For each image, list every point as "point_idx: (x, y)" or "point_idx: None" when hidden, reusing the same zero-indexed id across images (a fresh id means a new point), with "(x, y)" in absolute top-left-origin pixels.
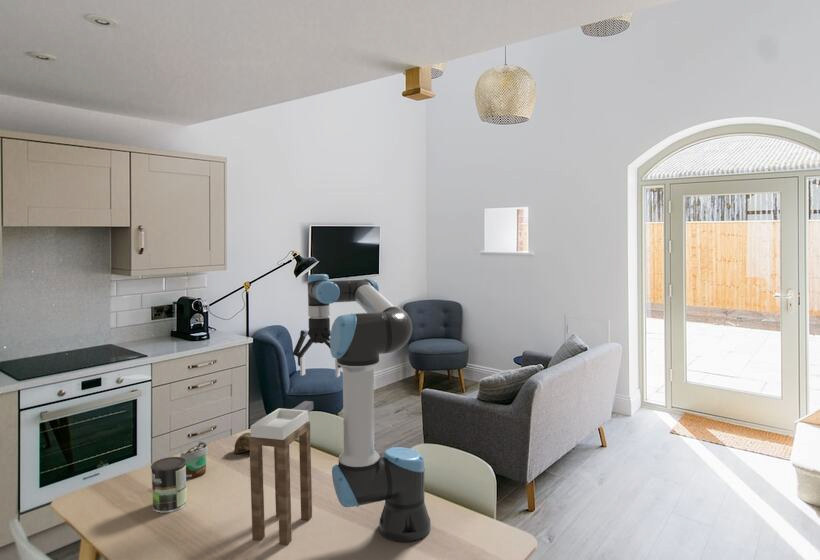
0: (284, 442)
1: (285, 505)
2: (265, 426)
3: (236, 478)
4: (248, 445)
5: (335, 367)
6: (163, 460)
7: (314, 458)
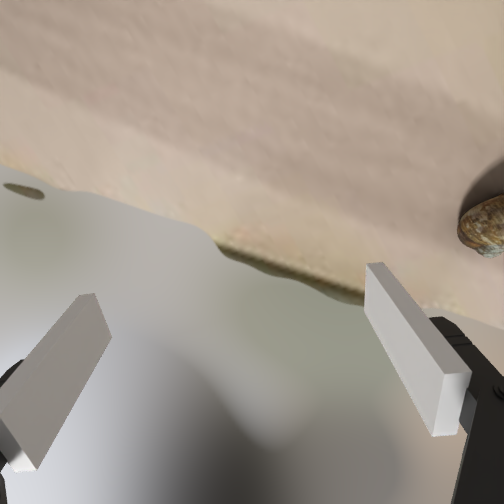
0: None
1: None
2: None
3: (447, 60)
4: (491, 201)
5: (52, 344)
6: None
7: (305, 234)
